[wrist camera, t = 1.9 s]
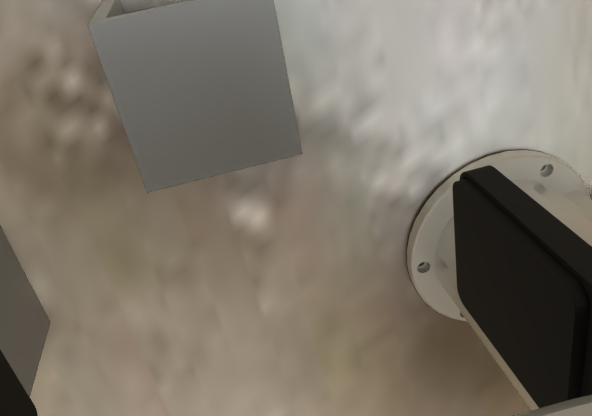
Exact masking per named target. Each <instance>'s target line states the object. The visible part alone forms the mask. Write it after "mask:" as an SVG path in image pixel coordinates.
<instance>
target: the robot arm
mask: <svg viewBox="0 0 592 416" xmlns="http://www.w3.org/2000/svg"><path fill="white" fill-rule="evenodd" d="M407 267H408V271H409V274H410V278H411V281H412V283H413V284H414V286H415V288H416V290H417V291H418V293H419V294H420V296H421V297H422V298H423V300H424V301H425V302H426V304H427V305H429V306H430V307H431V308H433V309H434V310H435V311H436V312H438V313H440V314H442V315H444V316H447V317H449V318H452V319H456V320H460V321H468V323H469V324H470V326H471V327H472V328H473V330H474V331H475V333H476V334H477V335H478V337H479V338H480V340H481V341H482V342H483V344H484V345H485V347H486V348H487V349H488V351H489V352H490V354H491V355H492V356H493V358H494V359H495V361H496V362H497V363H498V365H499V366H500V368H501V369H502V370H503V372H504V373H505V375H506V376H507V377H508V379H509V380H510V382H511V383H512V384H513V386H514V387H515V389H516V390H517V391H518V393H519V394H520V396H521V397H522V398H523V400H524V401H525V403H526V404H527V405H528V407H529V408H530V410H531V411H528V412H525V413H521V414H517V415H514V416H592V200H591V197H590V194H589V191H588V188H587V186H586V185H585V183H584V181H583V180H582V178H581V176H580V175H578V174H577V173H576V172H575V171H574V170H573V169H572V168H571V167H570V166H568V165H567V164H565V163H563V162H562V161H560V160H559V159H557V158H556V157H553V156H550V155H548V154H545V153H542V152H537V151H529V150H516V151H505V152H501V153H498V154H494V155H490V156H487V157H485V158H482V159H480V160H478V161H476V162H473V163H471V164H469V165H468V166H466V167H464V168H463V169H461V170H460V171H458V172H457V173H455V174H454V175H452V176H451V177H450V178H449V179H448V180H447V181H445V182H444V183H443V184H442V185H441V186H440V187H439V188H438V189H437V190H436V191H435V192H434V193H433V195H432V196H431V197H430V198H429V199H428V201H427V202H426V203H425V205H424V206H423V208H422V210H421V211H420V213H419V215H418V216H417V218H416V220H415V223H414V225H413V228H412V230H411V233H410V236H409V241H408V247H407ZM0 416H38V415H37V411H36V408H35V406H34V404H33V402H32V401H31V399H30V397H29V396H28V394H27V392H26V391H25V389H24V387H23V386H22V384H21V383H20V381H19V379H18V378H17V376H16V374H15V373H14V371H13V369H12V368H11V366H10V364H9V363H8V361H7V360H6V358H5V356H4V355H3V353H2V351H1V350H0Z"/></svg>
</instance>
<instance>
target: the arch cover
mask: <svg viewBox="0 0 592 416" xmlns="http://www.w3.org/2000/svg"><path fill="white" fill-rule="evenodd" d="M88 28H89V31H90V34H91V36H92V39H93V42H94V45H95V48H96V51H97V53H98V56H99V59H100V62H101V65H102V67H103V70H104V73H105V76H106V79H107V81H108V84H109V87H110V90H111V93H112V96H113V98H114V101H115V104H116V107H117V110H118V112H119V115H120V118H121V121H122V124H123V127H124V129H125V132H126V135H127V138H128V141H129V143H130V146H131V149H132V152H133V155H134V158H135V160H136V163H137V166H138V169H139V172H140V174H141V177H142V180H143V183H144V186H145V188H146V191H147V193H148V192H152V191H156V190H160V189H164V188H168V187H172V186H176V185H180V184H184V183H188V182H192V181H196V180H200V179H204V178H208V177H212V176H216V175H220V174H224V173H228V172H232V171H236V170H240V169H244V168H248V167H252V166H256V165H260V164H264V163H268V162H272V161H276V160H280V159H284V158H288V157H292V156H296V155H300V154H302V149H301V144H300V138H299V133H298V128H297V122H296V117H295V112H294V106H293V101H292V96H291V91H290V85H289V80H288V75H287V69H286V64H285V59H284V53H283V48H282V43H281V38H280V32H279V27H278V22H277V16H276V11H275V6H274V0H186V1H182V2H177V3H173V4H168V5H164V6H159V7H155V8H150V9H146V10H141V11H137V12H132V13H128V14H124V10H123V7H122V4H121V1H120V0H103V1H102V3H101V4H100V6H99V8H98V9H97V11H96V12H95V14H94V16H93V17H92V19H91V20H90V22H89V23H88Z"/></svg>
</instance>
